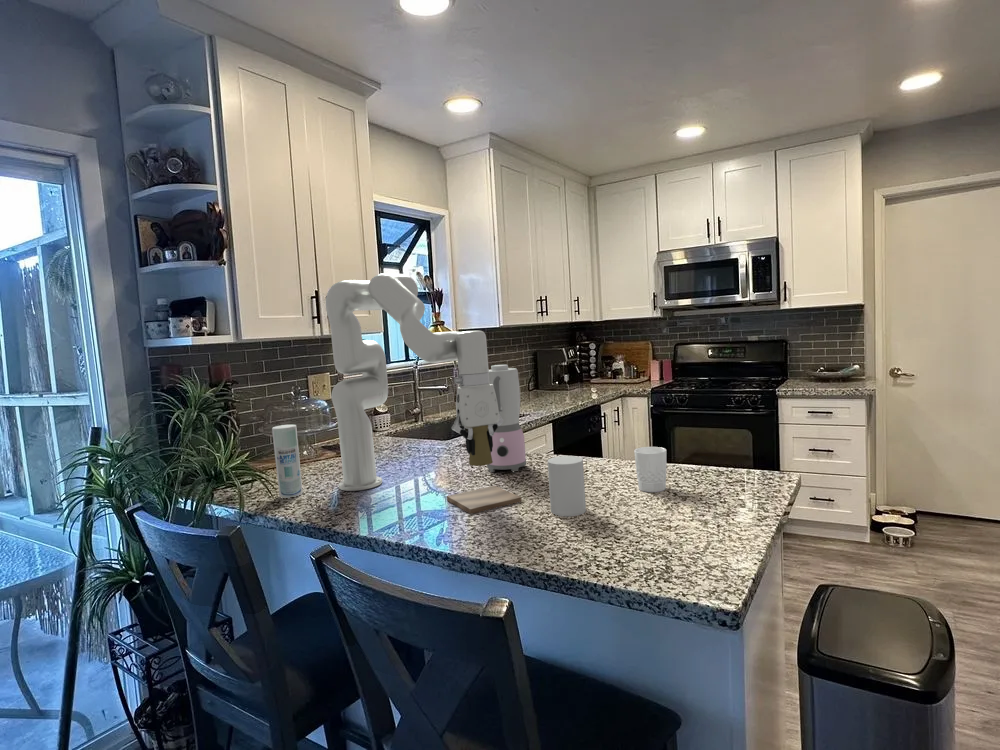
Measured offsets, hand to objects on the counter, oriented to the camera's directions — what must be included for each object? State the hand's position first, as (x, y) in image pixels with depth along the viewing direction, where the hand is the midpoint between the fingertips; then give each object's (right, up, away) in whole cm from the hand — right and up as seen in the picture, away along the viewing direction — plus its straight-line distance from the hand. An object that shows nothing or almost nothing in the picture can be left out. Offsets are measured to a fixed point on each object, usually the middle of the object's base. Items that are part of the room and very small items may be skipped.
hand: (480, 452), depth 144 cm
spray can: (-55, -15, +20) cm, 60 cm away
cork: (0, -3, 0) cm, 3 cm away
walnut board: (+1, -13, +1) cm, 13 cm away
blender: (+7, -10, +32) cm, 34 cm away
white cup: (+44, -10, +1) cm, 45 cm away
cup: (+21, -12, -11) cm, 27 cm away
